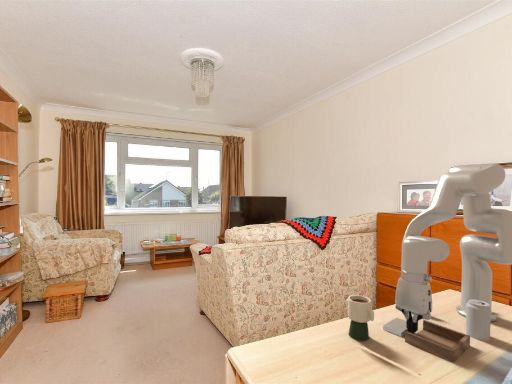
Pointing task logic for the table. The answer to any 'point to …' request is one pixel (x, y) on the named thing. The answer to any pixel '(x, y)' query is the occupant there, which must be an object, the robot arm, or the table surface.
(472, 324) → the beverage can
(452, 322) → the table surface
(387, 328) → the concrete block
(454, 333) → the walnut box
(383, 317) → the table surface
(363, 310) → the character mug
